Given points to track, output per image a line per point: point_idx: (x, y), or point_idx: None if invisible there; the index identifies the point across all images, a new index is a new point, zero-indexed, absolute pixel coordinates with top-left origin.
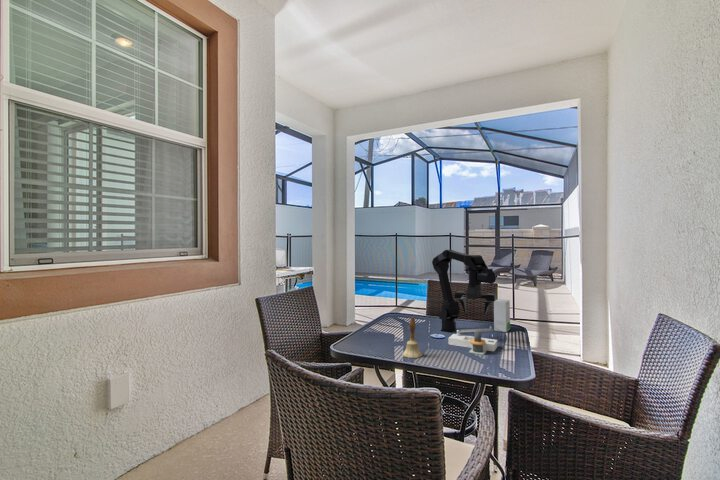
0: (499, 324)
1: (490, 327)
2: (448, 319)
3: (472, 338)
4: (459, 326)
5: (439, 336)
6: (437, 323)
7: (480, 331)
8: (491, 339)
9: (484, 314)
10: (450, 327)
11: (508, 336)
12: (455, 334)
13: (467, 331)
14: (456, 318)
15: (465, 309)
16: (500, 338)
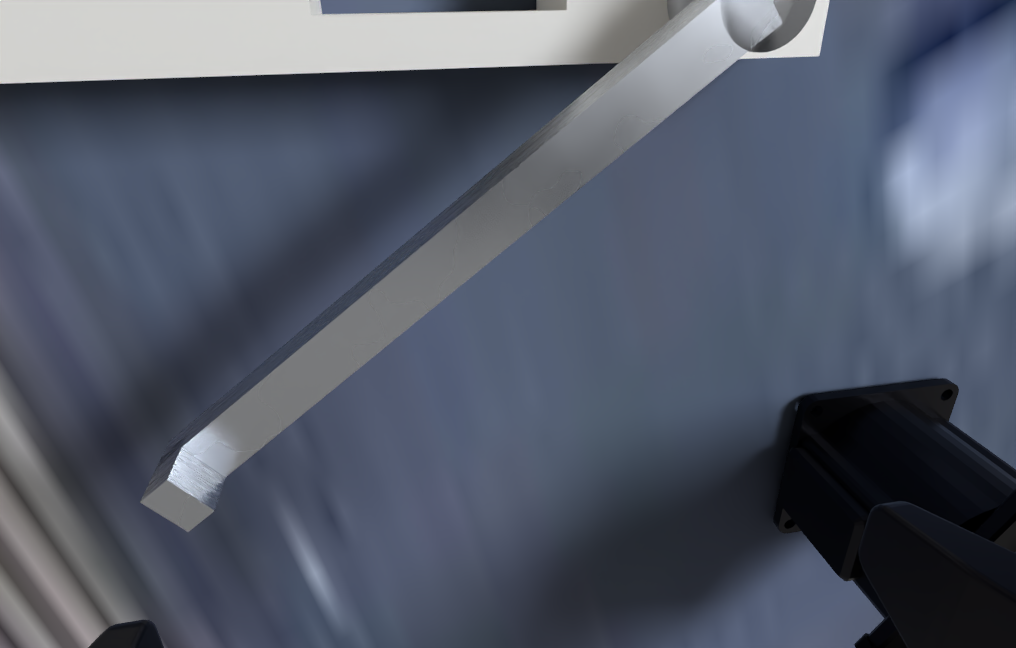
0: None
1: (167, 477)
2: (997, 513)
3: (427, 13)
4: (750, 643)
5: (962, 128)
6: None
7: (344, 296)
8: (5, 55)
9: (131, 636)
10: (869, 446)
11: None
12: None
13: (575, 103)
14: (869, 634)
15: (976, 626)
16: None
